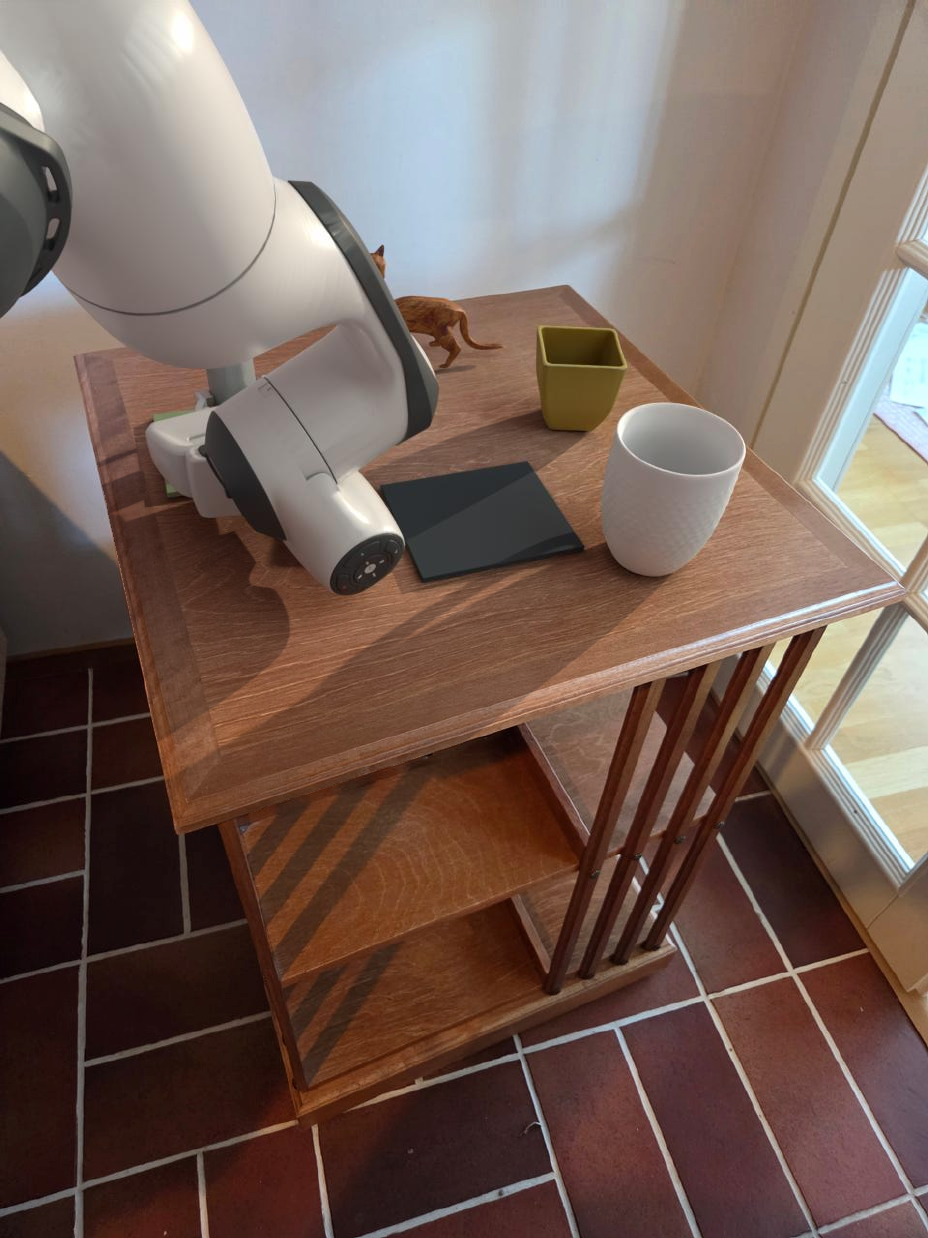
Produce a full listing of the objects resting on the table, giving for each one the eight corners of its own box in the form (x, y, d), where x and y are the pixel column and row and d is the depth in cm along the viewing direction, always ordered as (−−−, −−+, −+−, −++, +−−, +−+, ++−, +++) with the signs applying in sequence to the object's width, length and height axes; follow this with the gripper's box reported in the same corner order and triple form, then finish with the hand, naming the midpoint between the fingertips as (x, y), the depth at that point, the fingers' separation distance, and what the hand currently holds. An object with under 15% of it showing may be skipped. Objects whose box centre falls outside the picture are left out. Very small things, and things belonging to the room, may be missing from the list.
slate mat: (422, 583, 74) (422, 578, 74) (380, 489, 83) (379, 484, 83) (583, 550, 79) (585, 546, 78) (527, 465, 87) (527, 460, 87)
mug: (580, 489, 85) (603, 374, 76) (686, 495, 86) (722, 382, 76) (594, 591, 75) (623, 472, 65) (714, 597, 75) (761, 480, 66)
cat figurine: (495, 342, 105) (506, 231, 95) (509, 368, 101) (522, 255, 91) (354, 350, 102) (350, 236, 92) (362, 379, 97) (359, 262, 87)
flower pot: (526, 396, 97) (536, 323, 90) (600, 399, 97) (615, 327, 91) (532, 439, 91) (543, 364, 84) (611, 442, 91) (628, 368, 85)
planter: (267, 449, 85) (256, 357, 78) (223, 456, 84) (206, 363, 77) (258, 425, 88) (246, 334, 81) (215, 432, 87) (198, 340, 80)
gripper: (389, 404, 77) (323, 337, 85) (171, 465, 69) (120, 385, 76) (389, 460, 82) (327, 392, 89) (185, 524, 73) (136, 442, 81)
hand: (230, 389), depth 83 cm, fingers closed on planter, 4 cm apart
